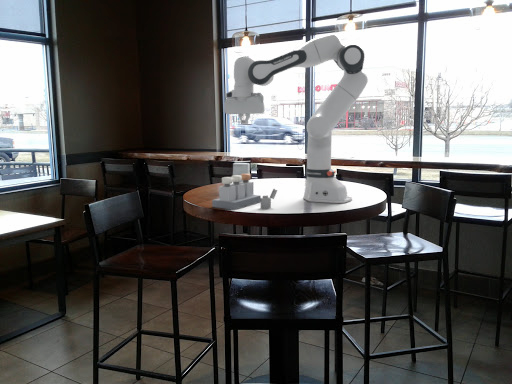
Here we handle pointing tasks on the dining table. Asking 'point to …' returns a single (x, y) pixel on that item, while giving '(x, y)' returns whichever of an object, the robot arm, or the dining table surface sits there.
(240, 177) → the knob mid
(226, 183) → the knob
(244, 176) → the knob
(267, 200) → the lighter
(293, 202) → the dining table surface
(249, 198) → the mount plate
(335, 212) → the dining table surface
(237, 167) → the skincare box
